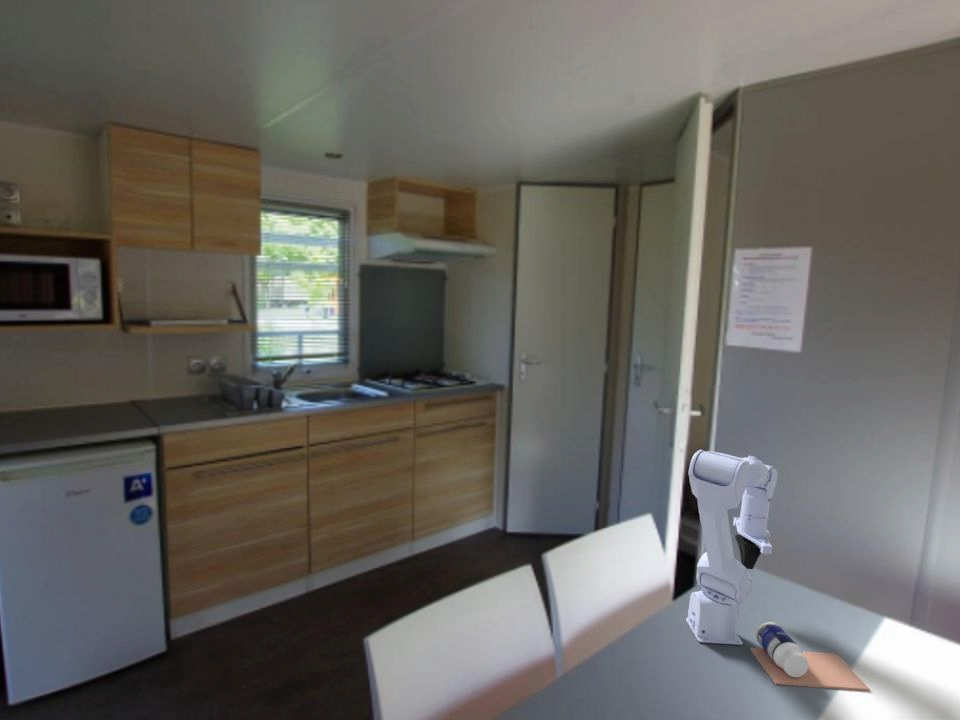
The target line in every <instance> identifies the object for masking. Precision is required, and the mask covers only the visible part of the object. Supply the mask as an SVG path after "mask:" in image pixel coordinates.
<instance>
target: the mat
mask: <svg viewBox="0 0 960 720" xmlns="http://www.w3.org/2000/svg"><path fill="white" fill-rule="evenodd" d="M749 649H750V651H751V652H752V654H753V655H754V657H755V656H756V657H755V658H756V660H757V662H759V663H761V664H760V665H761V666H762V667H763V669H764V670H765V672H766V674H769V675H768V676H769V678H772V679H771V680H772V682H773V683H774V685H778V684H779V685H781V686H792V685H794V686H795V687H806V686H807V687H808V688H823V689H824V688H825V689H836V690H838V689H839V690H850V691H864V692H865V691H866V692H870V690H871V689H870V688H869V687H868V685H867V684H866V683H865V682H864V681H863V680H862V679H861V678H860V677H859V676H858V674H856V672H854V671H853V669H852V668H850V667H849V666H848V665H847V663H846V662H845V661H843V659H842V658H841V657H840V656H839V654H837V653H831V652H830V653H829V652H827V653H826V652H815V651H814V652H813V651H802V655H803V656H804V657H805V658H806V659H807V661H808V664H809V666H808V670H807V672H806V673H805V674H804V675H802V676H800V677H792V676H790V675H788V674H787V673H786V672H785V671H784V669H782V668H780V667H779V666H778V665H777V664H776V663H775V662H774V661H773V660H772V658H771V657H770V656H769V655H768V653H767V652H766V651H765V650H764V649H763V648H759V647H750V648H749ZM796 685H797V686H796ZM794 686H793V687H794Z"/></svg>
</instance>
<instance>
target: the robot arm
mask: <svg viewBox="0 0 960 720" xmlns="http://www.w3.org/2000/svg"><path fill="white" fill-rule="evenodd" d="M778 475H779V474H778V470H777V469H775V467H774V466H772V465H768V464H765V463H763V461H762V460H760V459H758V458H757V457H756V456H752V455H748V456H747V457H739V456H734V455H731V454H727V453H723V452H719V451H718V452H717V451H711V450H706V451H705V450H703V449H699V450H697V451H695V453H694V454H693V455H692V458H691V460H690V463H689V468H688V477H689V485H690V489H691V493H692V495H694V497H695V498H696V499H697V500H696V501H697V507H698V513H699V515H698V516H699V521H700V525H701V530H702V537H703V540H704V545H705V552H704V553H703V554H702V555H701V557H700V558H699V560H698V561H697V564H696V568H697V569H696V581H697V584H698V585H699V586H701V587H700V590H699V591H693V592H691V593H690V596H689V604H688V612H687V617H686V618H685V621H686V623H687V625H688V627H689V629H690V630H691V631H692V633H693V635H694V636H695V638H696V640H697V641H698V642H699V643H707V644H708V643H709V644H710V643H711V644H722V645H735V646H736V645H737V646H743V644H744V642H743V640H741V638H740V637H739V635H738V634H737V632H736V630H737V623H738V616H739V608H740V604H743V603H745V602H746V601H747V600H748V598H749V596H750V593H751V590H752V582H753V581H752V580H753V579H752V577H751V575H750V574H749V573H748V570H753V569H754V568H755V565H756V564H757V561H758V559H759V557H760V556H761V554H762V555H772V552H773V546H772V544H771V542H770V540H769V537H771V532H770V531H768V530H767V528H768V519H769V513H770V512H769V511H770V505H771V499H772V497H773V496H774V491H775V488H776V485H777V481H778ZM740 503H741V507H740V514H739V517H736V516H733V523H732V525H733V526H734V527H736V532H737V533H738V534H735V535H734V536H735V537H734V539H735V540H736V542H737V546H738V549H739V555H740V556H739V557H740V561H738V560H737V559H736V558H735V555H734V547H733V541H732V534H731V529H730V523H729V521H730V520H729V515H728V511H729V510H732V509H737V508H738V507H739V505H740Z"/></svg>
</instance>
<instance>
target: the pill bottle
mask: <svg viewBox="0 0 960 720" xmlns="http://www.w3.org/2000/svg"><path fill="white" fill-rule="evenodd" d="M755 635H756V640H757V642H758V644H759V645H760V646H761V647H762V649H764V650H765V651H766V652H767V653H768V655H769V656H770V657H771V658H772V660H773V661H774V662H775V663H776V664H777V665H778V666H779V667H780V668H782V669H784V671H785V672H786V673H787V674H788V675H790V676H792V677H800V676H802V675H804V674H805V673H806V672H807V670H808V666H809V664H808V661H807V659H806V658H805V657H804V656H803V655H802V652H803V651H802V649H801V648H800V646H799V645H798V644H797V643H796V642H795V641H794V640H793V639H792V637H791V636H789V634H788V633H787V632H786V631H785V629H784V628H782V626H781V625H779V624H778V623H776V622H772V621H771V622H770V621H768V622H765V623H763V624H761V625H759V627H758V629H757V630H756V634H755Z"/></svg>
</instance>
